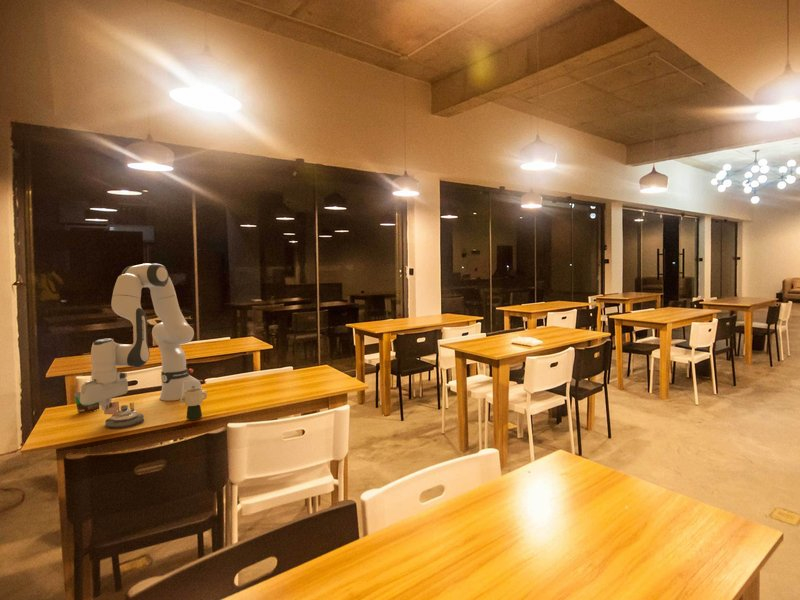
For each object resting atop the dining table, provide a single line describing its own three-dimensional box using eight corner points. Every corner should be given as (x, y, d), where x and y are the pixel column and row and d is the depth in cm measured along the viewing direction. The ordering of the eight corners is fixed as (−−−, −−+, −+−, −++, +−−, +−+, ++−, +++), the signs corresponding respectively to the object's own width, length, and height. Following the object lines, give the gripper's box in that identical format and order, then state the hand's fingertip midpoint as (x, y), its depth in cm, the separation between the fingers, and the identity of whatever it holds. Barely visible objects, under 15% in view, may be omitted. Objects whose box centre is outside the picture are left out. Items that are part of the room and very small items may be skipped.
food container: (86, 414, 201) (84, 393, 200) (74, 414, 202) (73, 392, 201) (109, 406, 213) (107, 386, 212) (98, 406, 214) (97, 385, 213)
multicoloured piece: (142, 414, 193) (142, 399, 193) (127, 421, 184) (126, 406, 183) (114, 413, 195) (113, 398, 194) (96, 420, 185) (95, 405, 185)
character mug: (205, 414, 200) (204, 386, 199) (209, 418, 194) (208, 389, 194) (178, 419, 193) (177, 390, 192) (182, 423, 188) (181, 393, 187)
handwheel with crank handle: (130, 416, 199) (129, 399, 198) (151, 420, 193) (150, 403, 192) (98, 425, 186) (97, 408, 185) (119, 430, 180) (118, 412, 179)
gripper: (87, 383, 176) (89, 417, 176) (130, 372, 196) (131, 403, 196) (75, 382, 177) (76, 416, 178) (118, 372, 197) (119, 402, 198)
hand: (105, 409), depth 187 cm, fingers closed
